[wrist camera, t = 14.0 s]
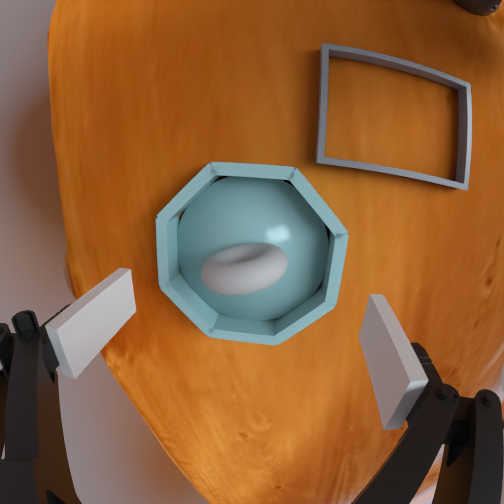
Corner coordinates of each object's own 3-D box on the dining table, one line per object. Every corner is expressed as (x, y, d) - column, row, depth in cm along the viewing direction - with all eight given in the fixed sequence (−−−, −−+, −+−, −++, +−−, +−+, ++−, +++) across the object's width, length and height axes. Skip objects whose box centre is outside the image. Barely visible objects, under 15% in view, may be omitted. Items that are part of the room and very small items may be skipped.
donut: (215, 270, 39) (193, 305, 29) (210, 245, 38) (185, 274, 28) (289, 260, 37) (290, 294, 28) (285, 234, 36) (285, 261, 27)
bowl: (347, 172, 34) (355, 174, 29) (323, 331, 41) (325, 349, 37) (170, 160, 36) (156, 161, 32) (173, 314, 43) (163, 329, 39)
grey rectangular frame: (461, 86, 27) (470, 83, 24) (458, 188, 32) (467, 190, 29) (320, 49, 29) (322, 42, 26) (314, 162, 34) (316, 163, 31)
